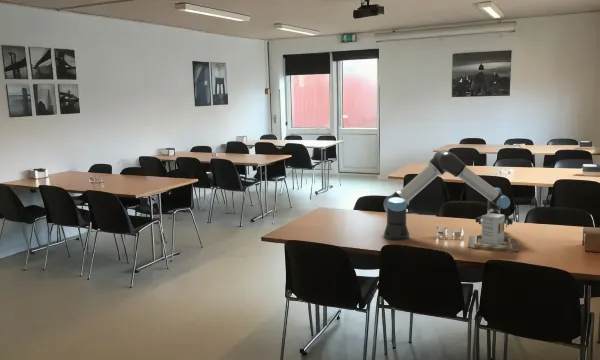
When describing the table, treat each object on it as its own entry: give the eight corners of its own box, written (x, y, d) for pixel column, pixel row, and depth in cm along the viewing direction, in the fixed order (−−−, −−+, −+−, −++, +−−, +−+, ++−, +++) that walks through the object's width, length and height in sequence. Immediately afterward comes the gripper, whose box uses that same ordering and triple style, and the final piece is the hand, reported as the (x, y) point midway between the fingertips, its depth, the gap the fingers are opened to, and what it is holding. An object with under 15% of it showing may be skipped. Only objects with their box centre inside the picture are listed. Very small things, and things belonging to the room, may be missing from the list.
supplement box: (497, 247, 282) (498, 217, 279) (480, 244, 288) (481, 215, 286) (504, 243, 289) (505, 214, 286) (488, 240, 295) (489, 212, 292)
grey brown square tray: (467, 248, 284) (467, 244, 284) (469, 237, 306) (469, 233, 306) (518, 252, 275) (518, 247, 275) (515, 240, 298) (516, 236, 297)
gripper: (515, 223, 307) (517, 232, 288) (472, 220, 316) (470, 229, 296) (516, 211, 306) (517, 219, 286) (472, 209, 315) (471, 216, 295)
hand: (493, 224), depth 291 cm, fingers open, 13 cm apart
